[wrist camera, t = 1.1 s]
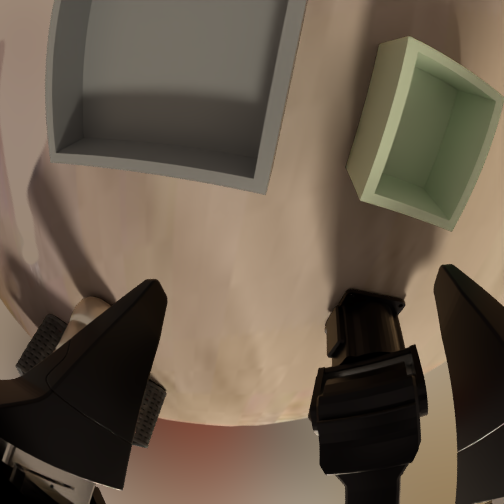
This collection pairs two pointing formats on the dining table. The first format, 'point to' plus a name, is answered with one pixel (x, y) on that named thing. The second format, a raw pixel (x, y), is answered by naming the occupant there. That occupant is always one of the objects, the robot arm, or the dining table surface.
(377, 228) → the dining table surface
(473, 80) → the small crate
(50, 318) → the storage bin
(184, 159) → the large crate
